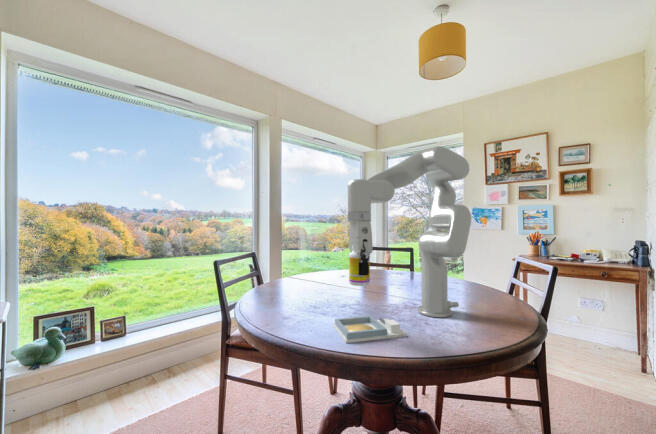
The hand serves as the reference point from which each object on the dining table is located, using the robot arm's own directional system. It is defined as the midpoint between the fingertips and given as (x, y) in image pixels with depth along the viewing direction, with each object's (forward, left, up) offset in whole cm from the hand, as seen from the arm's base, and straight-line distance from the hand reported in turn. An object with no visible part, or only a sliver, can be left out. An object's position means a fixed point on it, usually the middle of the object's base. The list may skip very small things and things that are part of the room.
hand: (359, 272), depth 94 cm
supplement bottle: (0, 0, -4) cm, 4 cm away
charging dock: (-3, 0, -19) cm, 19 cm away
